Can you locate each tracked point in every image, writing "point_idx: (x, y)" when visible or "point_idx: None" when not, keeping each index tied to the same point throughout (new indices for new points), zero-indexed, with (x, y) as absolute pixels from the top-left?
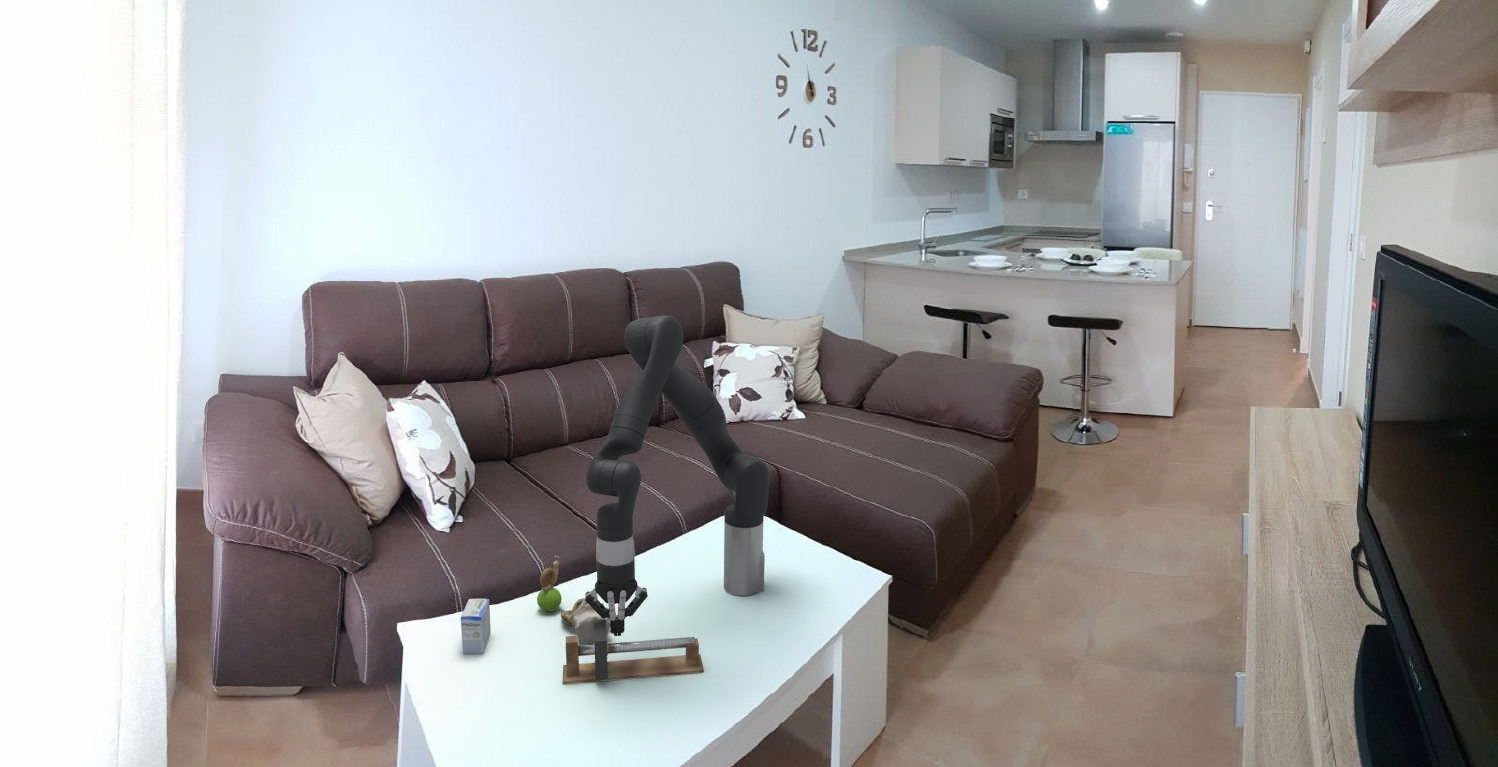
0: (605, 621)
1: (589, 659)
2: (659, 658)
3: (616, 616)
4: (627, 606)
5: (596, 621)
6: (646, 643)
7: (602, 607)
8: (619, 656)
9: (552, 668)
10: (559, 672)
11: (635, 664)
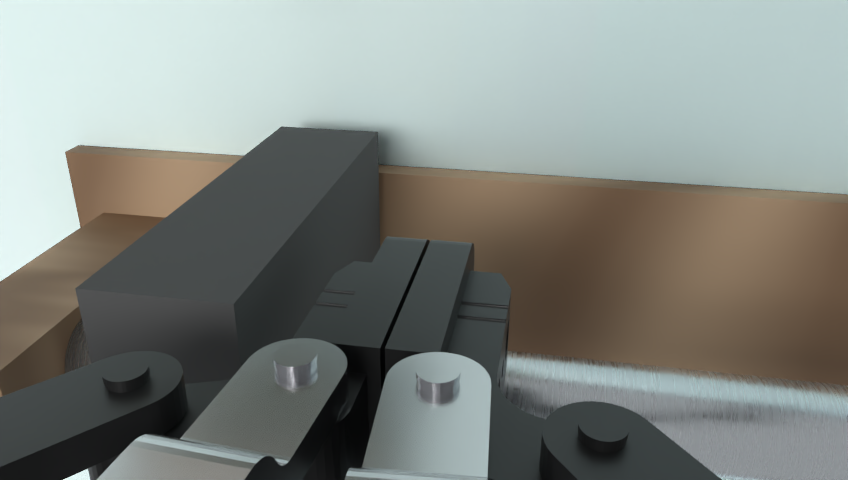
0: (236, 352)
1: (252, 65)
2: (838, 224)
3: (375, 381)
4: (557, 471)
5: (117, 327)
6: (730, 476)
7: (74, 460)
8: (497, 66)
9: (10, 135)
10: (67, 195)
11: (608, 264)
